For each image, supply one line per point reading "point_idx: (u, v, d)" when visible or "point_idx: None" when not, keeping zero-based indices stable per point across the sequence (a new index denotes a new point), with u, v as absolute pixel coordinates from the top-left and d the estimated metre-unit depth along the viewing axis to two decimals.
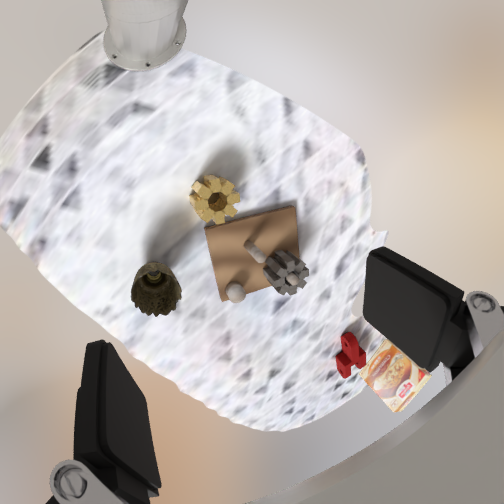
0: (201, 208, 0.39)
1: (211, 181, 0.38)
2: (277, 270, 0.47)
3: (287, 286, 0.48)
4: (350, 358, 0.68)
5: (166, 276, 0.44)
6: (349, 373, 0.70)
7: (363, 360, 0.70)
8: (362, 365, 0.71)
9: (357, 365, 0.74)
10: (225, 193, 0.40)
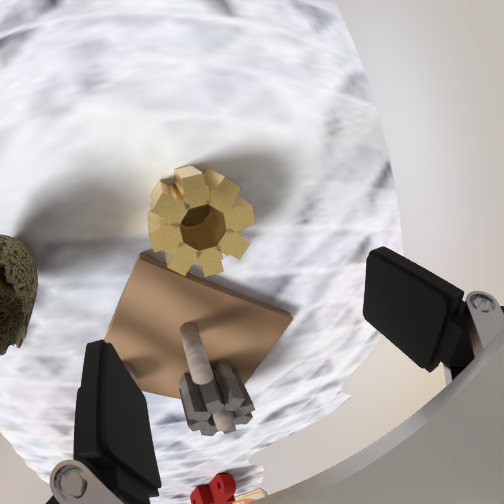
0: (164, 215, 0.16)
1: (224, 181, 0.16)
2: (210, 399, 0.22)
3: (207, 424, 0.23)
4: (214, 499, 0.39)
5: None
6: None
7: None
8: None
9: None
10: (228, 224, 0.18)
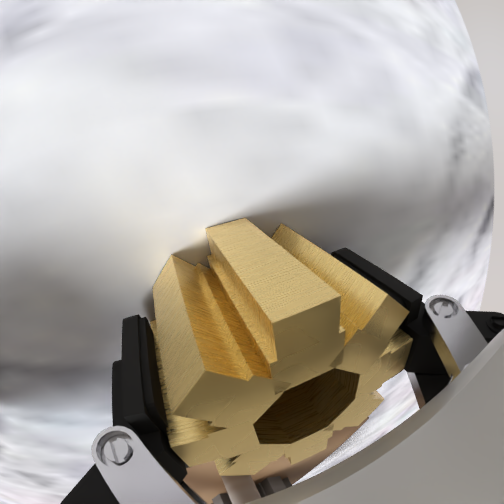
0: (215, 417, 0.05)
1: (383, 305, 0.05)
2: None
3: None
4: None
5: None
6: None
7: None
8: None
9: None
10: (362, 387, 0.06)
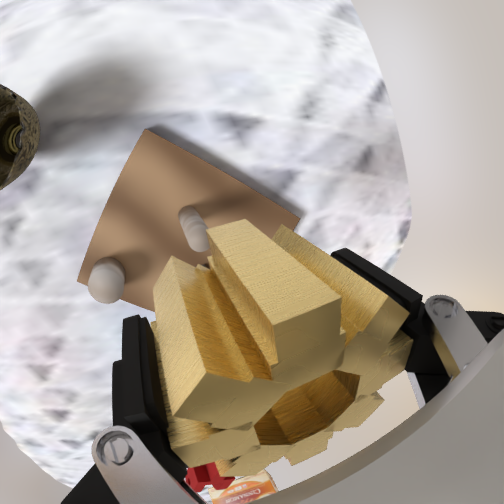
0: (215, 418, 0.05)
1: (384, 307, 0.05)
2: None
3: None
4: (210, 476, 0.37)
5: None
6: (199, 490, 0.37)
7: (226, 484, 0.39)
8: (221, 488, 0.39)
9: (214, 484, 0.41)
10: (363, 388, 0.06)
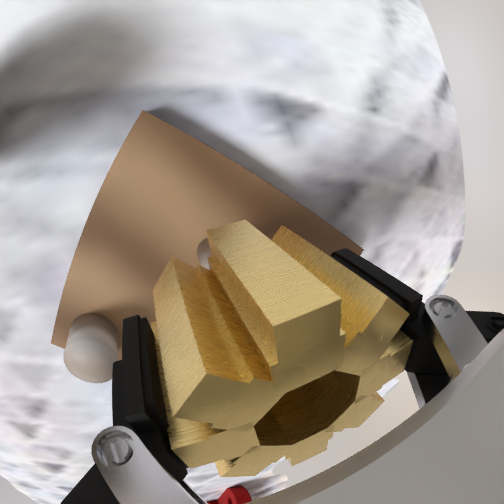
0: (215, 419, 0.05)
1: (384, 308, 0.05)
2: None
3: None
4: None
5: None
6: None
7: None
8: None
9: None
10: (362, 389, 0.06)
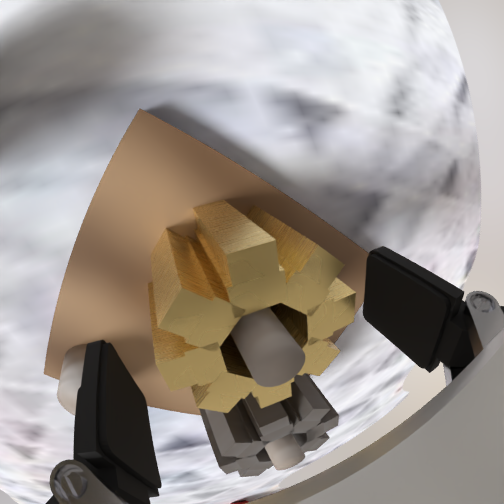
0: (189, 333, 0.07)
1: (316, 254, 0.08)
2: (268, 418, 0.11)
3: (254, 461, 0.11)
4: None
5: None
6: None
7: None
8: None
9: None
10: (313, 330, 0.09)
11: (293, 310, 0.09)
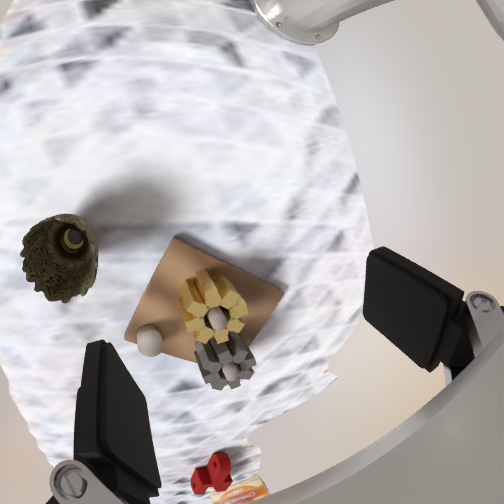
0: (195, 313, 0.27)
1: (229, 292, 0.28)
2: (221, 351, 0.30)
3: (217, 376, 0.31)
4: (212, 479, 0.44)
5: (85, 254, 0.25)
6: (202, 492, 0.44)
7: (225, 486, 0.46)
8: (221, 490, 0.46)
9: (215, 487, 0.48)
10: (232, 315, 0.29)
11: (227, 308, 0.29)
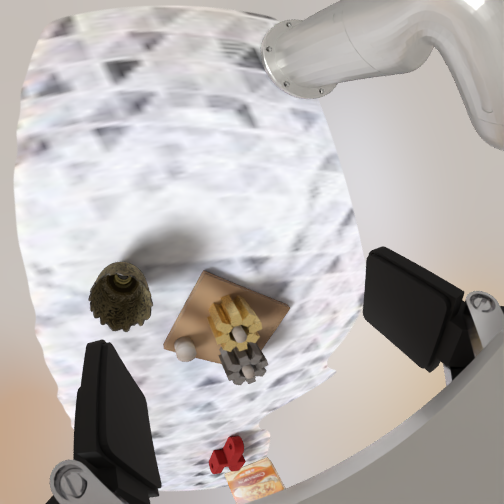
0: (222, 331, 0.36)
1: (248, 315, 0.37)
2: (241, 356, 0.40)
3: (238, 375, 0.41)
4: (228, 460, 0.55)
5: (135, 289, 0.34)
6: (219, 471, 0.56)
7: (239, 466, 0.57)
8: (235, 470, 0.58)
9: (230, 467, 0.60)
10: (250, 330, 0.38)
11: (246, 325, 0.39)
